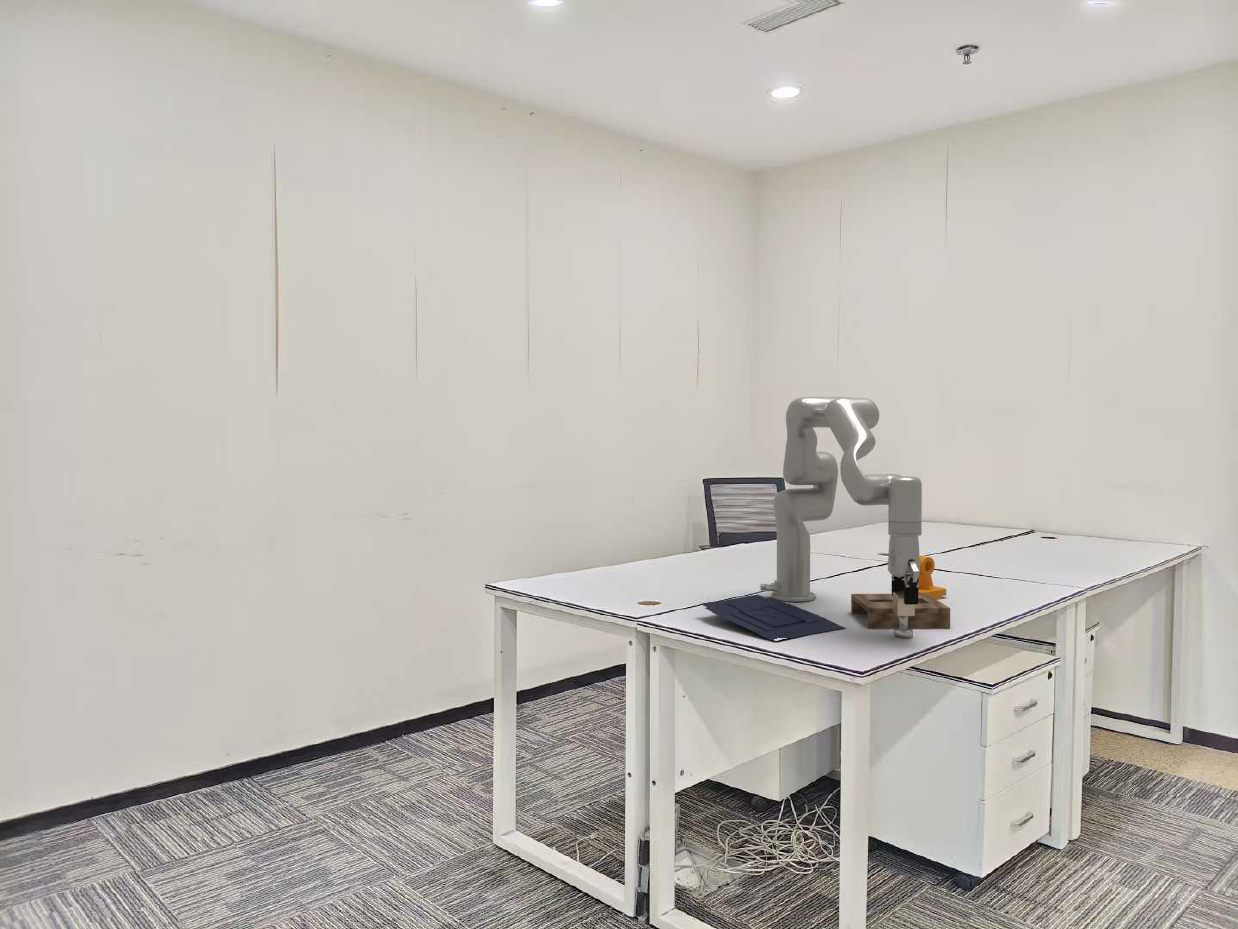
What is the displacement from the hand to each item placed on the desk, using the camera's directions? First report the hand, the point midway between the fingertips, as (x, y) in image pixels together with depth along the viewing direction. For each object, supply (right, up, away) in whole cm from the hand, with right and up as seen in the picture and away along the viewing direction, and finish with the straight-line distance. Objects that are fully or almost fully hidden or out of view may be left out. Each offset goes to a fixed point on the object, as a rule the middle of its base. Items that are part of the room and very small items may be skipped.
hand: (904, 600), depth 213 cm
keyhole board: (+4, -8, +18) cm, 20 cm away
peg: (0, -9, +1) cm, 9 cm away
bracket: (+20, -7, +46) cm, 50 cm away
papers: (-30, -9, +14) cm, 34 cm away
